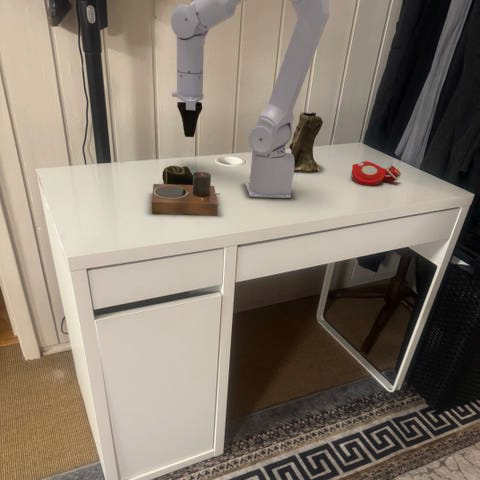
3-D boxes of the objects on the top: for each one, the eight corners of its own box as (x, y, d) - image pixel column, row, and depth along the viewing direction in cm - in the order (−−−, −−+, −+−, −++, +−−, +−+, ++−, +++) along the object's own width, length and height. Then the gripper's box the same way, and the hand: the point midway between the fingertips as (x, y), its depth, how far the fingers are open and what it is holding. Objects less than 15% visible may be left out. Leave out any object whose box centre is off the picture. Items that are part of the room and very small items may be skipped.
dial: (192, 190, 97) (192, 169, 95) (209, 190, 98) (210, 170, 95) (193, 196, 94) (193, 175, 92) (210, 197, 95) (211, 176, 92)
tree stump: (295, 158, 129) (302, 106, 121) (325, 167, 125) (335, 114, 117) (275, 166, 123) (282, 112, 115) (307, 176, 118) (316, 120, 110)
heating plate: (187, 187, 98) (187, 185, 98) (188, 199, 93) (188, 198, 93) (154, 186, 98) (154, 184, 97) (152, 198, 92) (152, 197, 92)
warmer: (217, 196, 102) (218, 185, 100) (221, 215, 94) (222, 202, 92) (153, 195, 100) (153, 182, 99) (152, 213, 92) (151, 200, 91)
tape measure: (195, 191, 104) (195, 174, 102) (164, 191, 102) (164, 175, 100) (189, 180, 109) (190, 164, 107) (160, 180, 107) (160, 164, 105)
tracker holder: (364, 183, 113) (343, 161, 119) (361, 198, 117) (341, 175, 122) (407, 170, 115) (385, 148, 121) (402, 184, 119) (381, 163, 125)
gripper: (171, 65, 106) (172, 127, 114) (171, 76, 95) (172, 144, 103) (202, 67, 107) (200, 128, 115) (205, 78, 96) (203, 145, 104)
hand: (189, 136), depth 109 cm, fingers closed
